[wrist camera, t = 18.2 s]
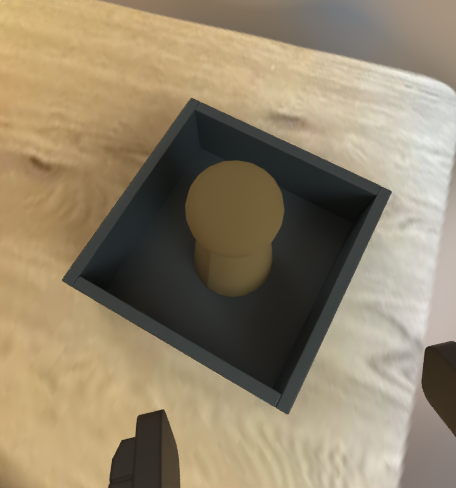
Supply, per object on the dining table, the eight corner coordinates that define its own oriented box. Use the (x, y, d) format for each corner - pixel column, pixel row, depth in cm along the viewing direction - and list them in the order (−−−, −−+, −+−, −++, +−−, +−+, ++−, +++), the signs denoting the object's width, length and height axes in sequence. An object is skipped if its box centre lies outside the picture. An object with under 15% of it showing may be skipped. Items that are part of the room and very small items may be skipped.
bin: (364, 221, 30) (392, 190, 25) (276, 405, 26) (288, 415, 21) (197, 140, 32) (191, 97, 27) (92, 296, 28) (60, 280, 23)
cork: (244, 207, 30) (252, 121, 19) (288, 269, 28) (322, 211, 18) (179, 246, 29) (150, 178, 18) (220, 312, 27) (215, 278, 17)
